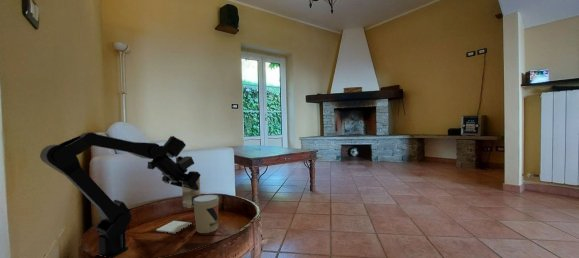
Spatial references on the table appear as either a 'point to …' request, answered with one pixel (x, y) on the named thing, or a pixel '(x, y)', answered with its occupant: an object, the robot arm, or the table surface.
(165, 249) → the table surface
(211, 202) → the coffee cup
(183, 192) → the letter block
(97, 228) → the robot arm
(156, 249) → the table surface
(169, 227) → the ceramic tile
